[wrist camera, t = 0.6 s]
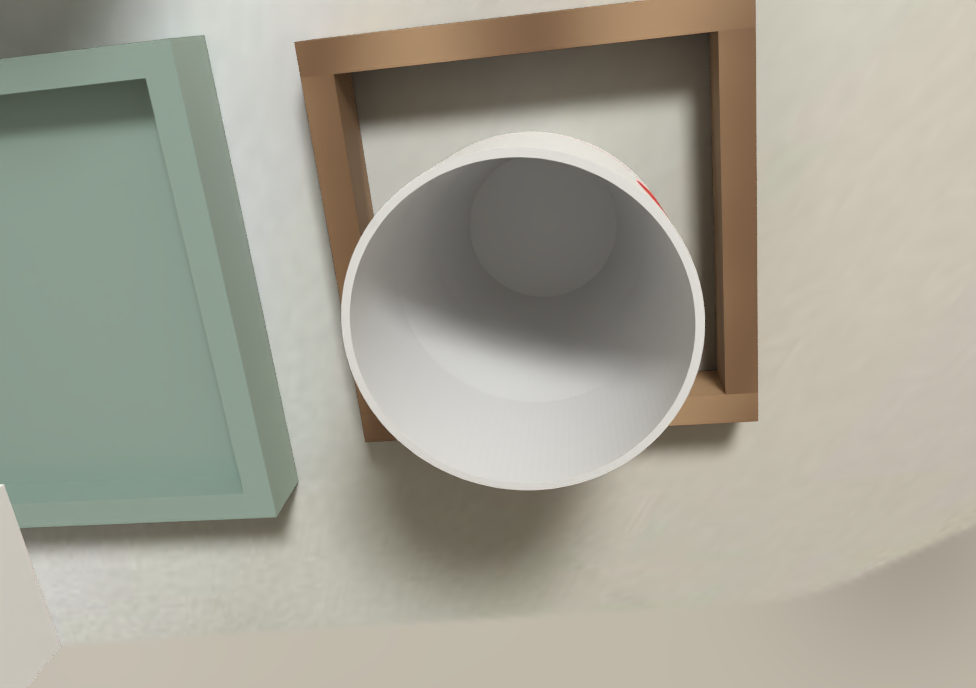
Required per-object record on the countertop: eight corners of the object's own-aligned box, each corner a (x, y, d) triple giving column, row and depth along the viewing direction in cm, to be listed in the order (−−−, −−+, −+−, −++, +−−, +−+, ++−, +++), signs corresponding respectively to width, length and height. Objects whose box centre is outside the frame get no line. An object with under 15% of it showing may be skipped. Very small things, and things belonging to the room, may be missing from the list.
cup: (647, 353, 30) (674, 510, 21) (412, 327, 31) (337, 468, 22) (685, 110, 27) (735, 167, 18) (425, 86, 28) (344, 129, 19)
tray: (-85, 499, 36) (-131, 534, 34) (-242, 89, 30) (-311, 96, 28) (298, 481, 34) (276, 517, 31) (204, 35, 28) (169, 38, 26)
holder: (378, 416, 32) (365, 441, 30) (314, 39, 28) (294, 42, 26) (747, 395, 30) (758, 421, 29) (743, -12, 26) (755, -12, 24)
